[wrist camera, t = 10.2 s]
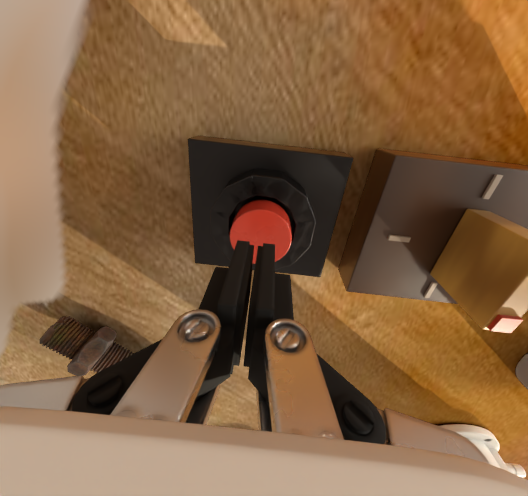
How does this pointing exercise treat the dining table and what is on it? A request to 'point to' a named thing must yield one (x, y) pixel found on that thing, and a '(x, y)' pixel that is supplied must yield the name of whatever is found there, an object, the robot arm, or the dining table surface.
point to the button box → (265, 196)
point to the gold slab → (487, 270)
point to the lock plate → (422, 218)
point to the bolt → (84, 346)
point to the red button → (262, 227)
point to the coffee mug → (523, 371)
